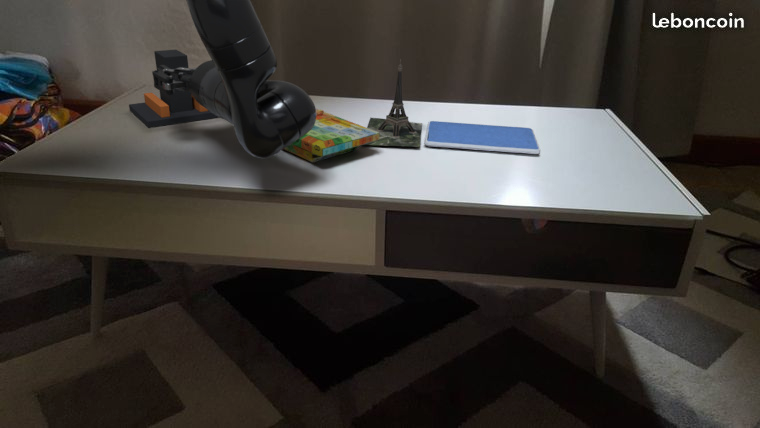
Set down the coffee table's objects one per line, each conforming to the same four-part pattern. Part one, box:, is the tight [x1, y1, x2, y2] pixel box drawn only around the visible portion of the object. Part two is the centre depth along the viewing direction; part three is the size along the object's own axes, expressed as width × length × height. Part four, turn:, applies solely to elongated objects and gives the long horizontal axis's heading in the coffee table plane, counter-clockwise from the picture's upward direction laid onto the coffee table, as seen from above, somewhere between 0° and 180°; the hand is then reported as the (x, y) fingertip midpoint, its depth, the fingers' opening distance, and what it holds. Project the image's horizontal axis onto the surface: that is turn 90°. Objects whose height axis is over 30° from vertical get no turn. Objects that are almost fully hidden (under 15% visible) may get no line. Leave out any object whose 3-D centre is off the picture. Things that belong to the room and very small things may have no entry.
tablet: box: [423, 120, 541, 155], centre depth 100 cm, size 19×13×1 cm, turn 83°
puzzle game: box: [283, 108, 380, 163], centre depth 94 cm, size 12×5×20 cm
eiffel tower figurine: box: [362, 58, 423, 148], centre depth 99 cm, size 15×10×13 cm
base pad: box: [128, 92, 219, 129], centre depth 107 cm, size 14×12×3 cm
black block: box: [153, 49, 193, 113], centre depth 105 cm, size 4×6×10 cm, turn 36°
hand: (187, 68), depth 97 cm, fingers open, 8 cm apart
